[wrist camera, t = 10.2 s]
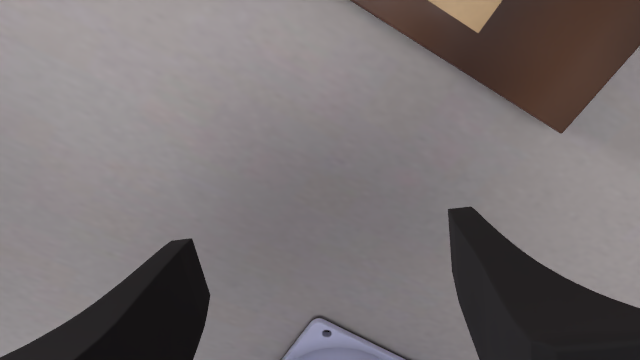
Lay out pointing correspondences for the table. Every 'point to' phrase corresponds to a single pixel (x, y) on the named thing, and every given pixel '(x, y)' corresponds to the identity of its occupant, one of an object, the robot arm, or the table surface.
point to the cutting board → (525, 45)
